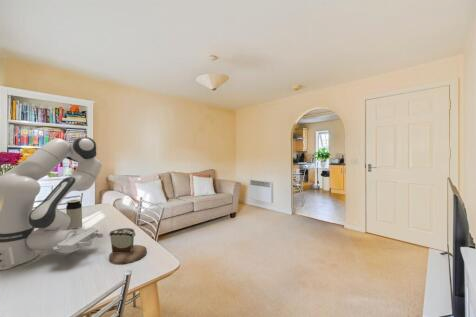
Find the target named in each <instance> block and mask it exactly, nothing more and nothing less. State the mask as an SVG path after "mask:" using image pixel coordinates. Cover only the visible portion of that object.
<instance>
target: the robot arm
mask: <svg viewBox="0 0 476 317" xmlns="http://www.w3.org/2000/svg"><path fill="white" fill-rule="evenodd" d="M96 156H97V144H96V142H95V140H94V139H93V138H91V137H89V136H81V137H78V138H76V139H75V140H74V141H73V142H69V141H67V140H65V139H63V138H60V137H59V138H57V137H56V138H53V139H51V140H49V141H48V142H46V143H44V144H43V145H42V146H40V147H39V148H37V150H35V151H34V152H33V153H32V154H31V155H29V156H28V157H27V158H26V159H25V160H23V161H22V162H21V163H19V164H17V165H15V166H14V167H12V168H11V169H9V170H8V171H6V172H4V173H3V174H1V175H0V199H2V205H1V209H0V271H5V270H9V269H12V268H14V267H16V266H19V265H22V264H25V263H27V262H30V261H32V260H33V259H36V258H37V257H38V256H39V252H38V251H45V252H46V251H51V250H52V251H53V252H55V251H57V253H62V254H71V253H73V252H75V251H77V250H78V249H81V248H84V247H90V246H91V245H93V242H92V240H93V239H95V238H98V239H99V238H103V237H104V233H103V232H99V229H98V228H96V227H85V228H82V227H83V226H82V227H78V228H74V229H71V230H68V227H69V225H70V223H71V218H70V216H69V215H67V214H66V213H65V212H63V211H61V210H59V209H58V206H59V205H60V204H61V202H62V201H64V199H65V198H66V196H67V195H68V194H69V193H71V192H74V191H77V192H82V191H83V192H84V191H87V190H89V189H91V187H92V186H93V185H94V184H95V181H96V180H97V178H98V176H99V174H100V172H101V169H102V165H103V164H102V162H101V161H100V160H99V159H98V158H96ZM65 159H67V160H70V161H72V162H76V163H77V166H76V168H75V169H74V171H73V172H72V173H71V175H70V176H68V177H65V178H63V179H62V180H61V181H60V182H59V183H58V184H57V185H56V186H55V187H54V188H53V189H52V191H50V193H49V194H48V195H47V196H46V197H45V199H44V200H42V202H41V203H40V204H39V205H37V206H36V207H35V208H34V206H35V201H36V197H37V196H38V195H39V193H40V192H41V185H40V183H39V182H38V181H39V180H41V179H42V178H44V177H46V176H48V175H49V174H50V173H51V172H52V171H54V170H55V169H56V168H57V167H58V166H59V165H60V164H61V163H62V162H63V161H64V160H65ZM35 228H37V229H36V230H35Z"/></svg>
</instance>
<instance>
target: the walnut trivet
mask: <svg viewBox="0 0 476 317" xmlns="http://www.w3.org/2000/svg"><path fill="white" fill-rule="evenodd" d="M147 251H148V250H147V247H146V246H145V245H140V244H138V245H137V244H133V251H132V253H131V254H130V253H112V252H111V253H109V255H108V262H110V263H111V264H114V265H126V264H131V263H134V262H137V261H139V260H141V259H143V258H144V257H145V256H146V255H147Z"/></svg>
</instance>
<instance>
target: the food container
mask: <svg viewBox="0 0 476 317" xmlns="http://www.w3.org/2000/svg"><path fill="white" fill-rule="evenodd" d="M108 236H109V237H110V243H111V253H130V254H131V253H132V251H133V245H134V239H135V238H134V237H135V236H136V231H135V229H133V228H130V227H123V228H117V229H114V230H111V231H110V232H109V235H108Z"/></svg>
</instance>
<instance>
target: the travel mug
mask: <svg viewBox="0 0 476 317" xmlns="http://www.w3.org/2000/svg"><path fill="white" fill-rule="evenodd" d="M81 201H82V200H81V199H77V198H76V199H69V200H67V201H66V203H67V205H66V208H65V209H66V211H65V212H66V213H65V214H67V215H69V216H70V218H71V223H70V225H69V227H68V229H67V230H71V229H74V228H78V227H83V213H82V212H83V211H82V208H83V207H82V206H83V205H82V203H81Z"/></svg>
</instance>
